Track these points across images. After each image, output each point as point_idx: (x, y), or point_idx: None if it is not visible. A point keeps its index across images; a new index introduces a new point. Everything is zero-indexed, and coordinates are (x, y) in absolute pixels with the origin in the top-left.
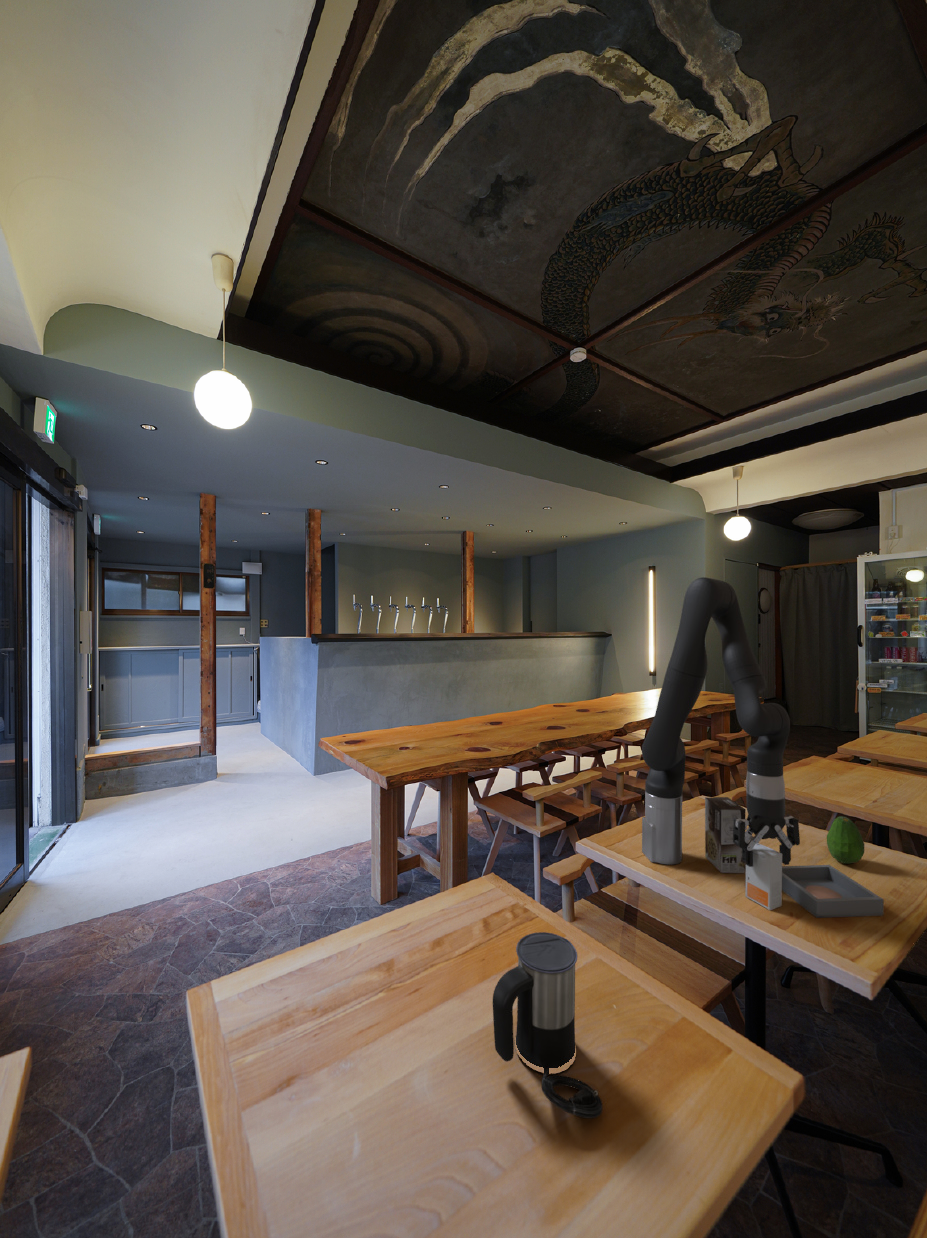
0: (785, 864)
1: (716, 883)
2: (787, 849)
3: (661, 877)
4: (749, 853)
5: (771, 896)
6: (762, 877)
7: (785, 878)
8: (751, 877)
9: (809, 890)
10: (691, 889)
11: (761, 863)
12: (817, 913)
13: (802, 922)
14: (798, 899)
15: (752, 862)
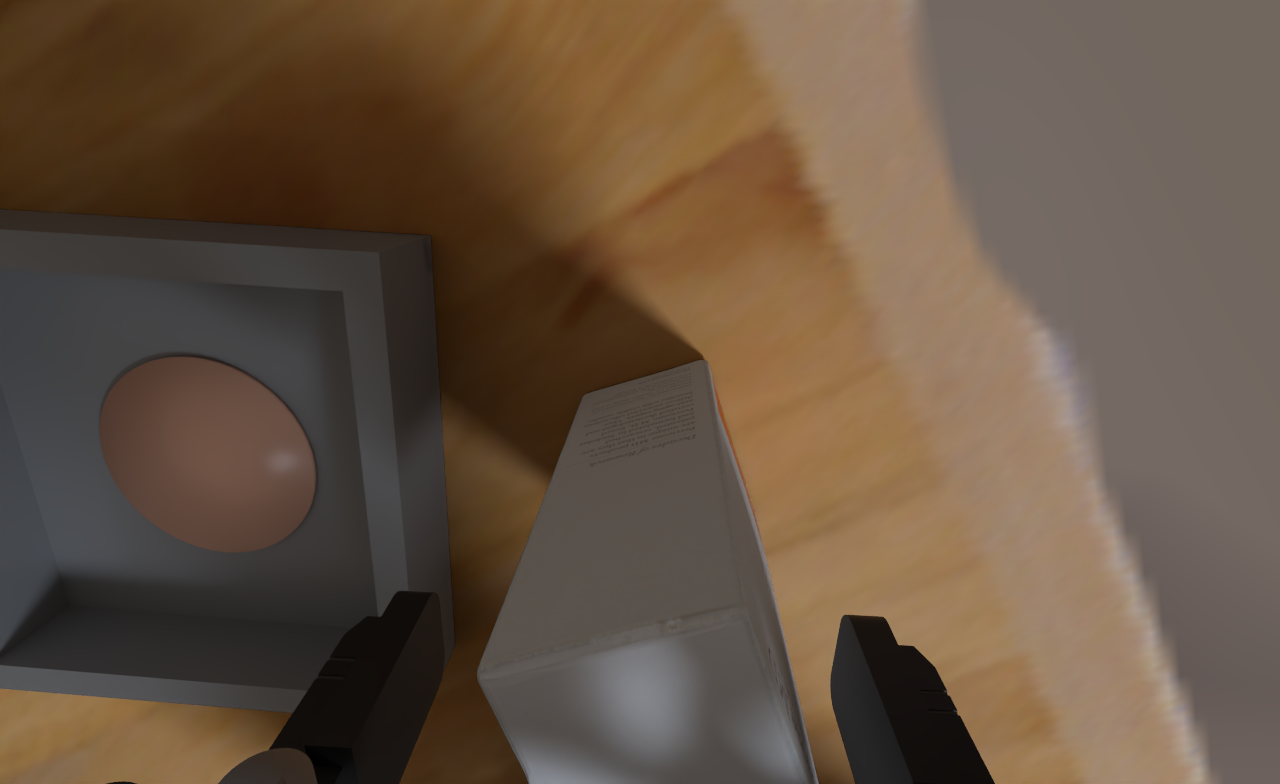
0: (435, 600)
1: (824, 670)
2: (332, 743)
3: (1128, 768)
4: (941, 756)
5: (693, 395)
6: (747, 513)
7: (409, 585)
8: (769, 576)
9: (280, 505)
10: (1045, 637)
11: (768, 616)
12: (413, 238)
13: (572, 199)
14: (431, 420)
15: (870, 646)
